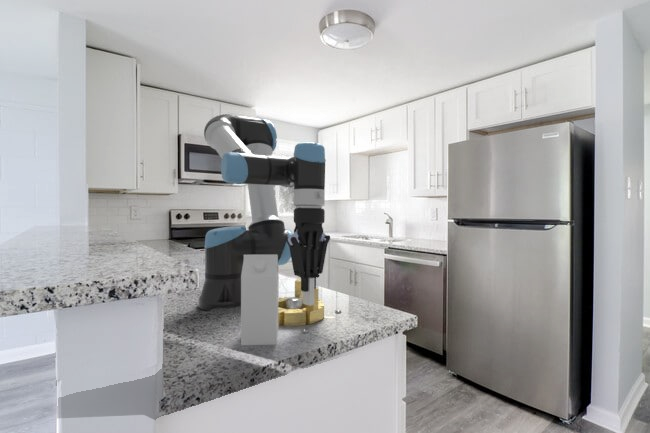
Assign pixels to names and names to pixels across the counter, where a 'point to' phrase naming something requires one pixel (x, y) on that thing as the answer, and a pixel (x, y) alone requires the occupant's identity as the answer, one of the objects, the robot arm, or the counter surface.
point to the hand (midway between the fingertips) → (308, 304)
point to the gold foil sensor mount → (300, 310)
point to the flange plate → (300, 307)
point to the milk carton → (259, 300)
